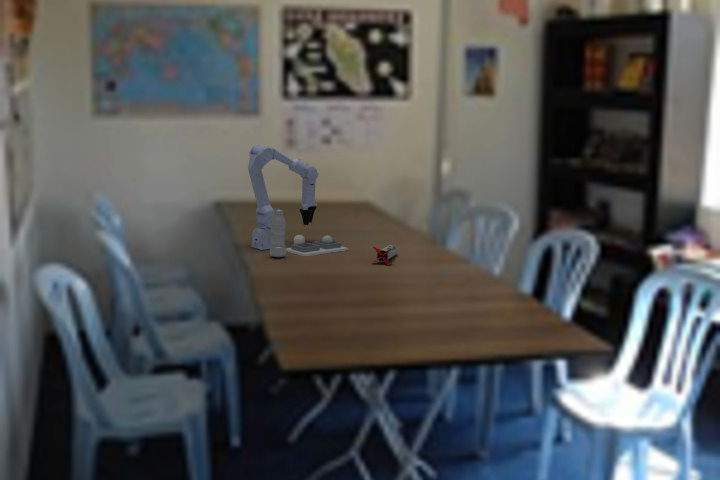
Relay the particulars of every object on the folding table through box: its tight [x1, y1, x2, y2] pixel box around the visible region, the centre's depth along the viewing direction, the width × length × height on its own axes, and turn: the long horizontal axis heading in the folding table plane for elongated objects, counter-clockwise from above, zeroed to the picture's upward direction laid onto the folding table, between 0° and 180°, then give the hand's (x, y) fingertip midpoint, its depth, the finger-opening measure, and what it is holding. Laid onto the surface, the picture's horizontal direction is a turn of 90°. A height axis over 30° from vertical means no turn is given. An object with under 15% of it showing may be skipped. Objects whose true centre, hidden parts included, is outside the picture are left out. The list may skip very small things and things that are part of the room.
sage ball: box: [321, 235, 334, 244], centre depth 373 cm, size 5×5×5 cm
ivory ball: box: [293, 234, 306, 244], centre depth 378 cm, size 5×5×5 cm
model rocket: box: [371, 244, 398, 267], centre depth 356 cm, size 11×23×10 cm
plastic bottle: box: [269, 208, 287, 259], centre depth 352 cm, size 6×7×20 cm
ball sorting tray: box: [286, 240, 349, 258], centre depth 369 cm, size 24×14×3 cm, turn 132°
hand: (307, 223), depth 382 cm, fingers open, 7 cm apart
